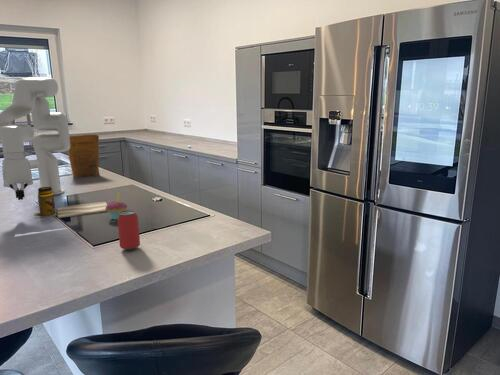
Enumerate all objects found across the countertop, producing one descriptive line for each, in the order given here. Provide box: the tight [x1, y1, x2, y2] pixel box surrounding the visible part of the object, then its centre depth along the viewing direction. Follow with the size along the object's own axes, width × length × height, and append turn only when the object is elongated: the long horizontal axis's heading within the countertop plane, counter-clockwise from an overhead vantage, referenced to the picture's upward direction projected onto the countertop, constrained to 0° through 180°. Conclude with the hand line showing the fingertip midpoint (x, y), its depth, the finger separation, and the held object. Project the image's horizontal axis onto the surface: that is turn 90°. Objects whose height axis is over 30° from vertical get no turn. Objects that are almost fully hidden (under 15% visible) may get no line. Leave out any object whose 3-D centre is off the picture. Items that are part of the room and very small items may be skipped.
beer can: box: [117, 209, 141, 250], centre depth 128 cm, size 7×7×12 cm
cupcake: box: [106, 191, 128, 221], centre depth 160 cm, size 9×8×12 cm
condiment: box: [34, 187, 58, 219], centre depth 166 cm, size 7×8×12 cm
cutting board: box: [57, 201, 108, 219], centre depth 173 cm, size 16×21×1 cm
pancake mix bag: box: [67, 134, 101, 178], centre depth 243 cm, size 7×19×28 cm, turn 113°
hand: (20, 199), depth 161 cm, fingers closed
